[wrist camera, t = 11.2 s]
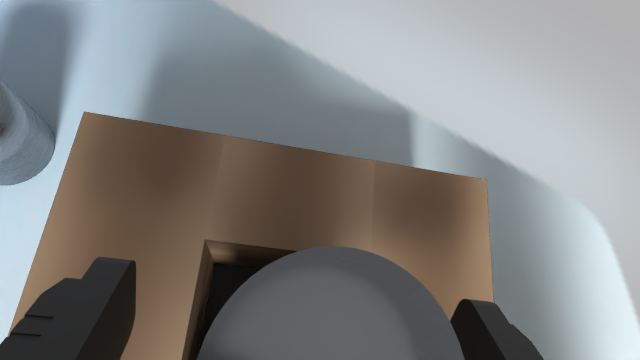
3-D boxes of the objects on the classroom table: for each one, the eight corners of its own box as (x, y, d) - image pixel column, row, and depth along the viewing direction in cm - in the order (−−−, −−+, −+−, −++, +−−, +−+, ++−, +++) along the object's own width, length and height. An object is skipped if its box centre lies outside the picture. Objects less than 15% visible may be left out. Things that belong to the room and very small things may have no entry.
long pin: (215, 375, 18) (156, 574, 4) (230, 288, 20) (219, 230, 6) (299, 381, 19) (476, 572, 5) (307, 296, 20) (465, 262, 6)
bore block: (43, 497, 16) (-92, 629, 9) (131, 175, 20) (84, 111, 14) (413, 504, 18) (512, 610, 12) (415, 216, 23) (486, 180, 17)
